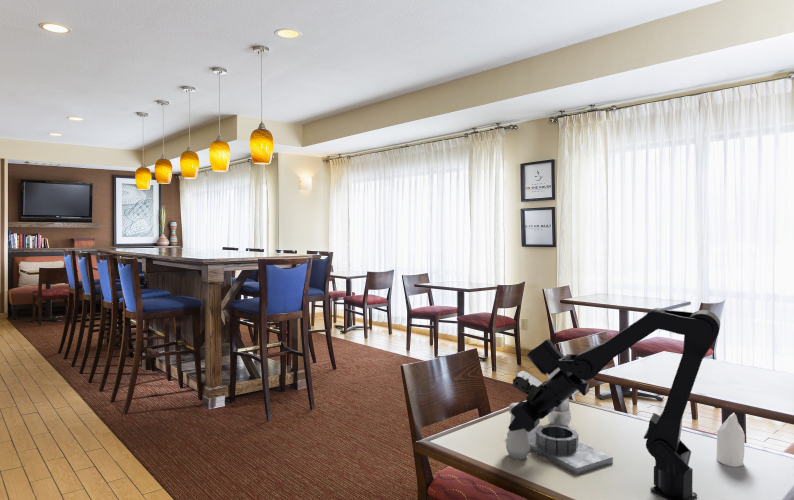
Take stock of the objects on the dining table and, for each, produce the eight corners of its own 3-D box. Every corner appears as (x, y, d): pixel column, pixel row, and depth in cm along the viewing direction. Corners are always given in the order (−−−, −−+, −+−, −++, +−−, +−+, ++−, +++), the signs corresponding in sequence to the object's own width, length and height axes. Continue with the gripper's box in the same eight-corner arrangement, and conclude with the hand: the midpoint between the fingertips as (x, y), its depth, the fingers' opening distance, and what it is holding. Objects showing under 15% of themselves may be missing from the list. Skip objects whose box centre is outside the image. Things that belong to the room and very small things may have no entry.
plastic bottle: (547, 428, 144) (547, 358, 144) (547, 420, 151) (547, 352, 150) (571, 430, 143) (571, 359, 142) (570, 422, 149) (570, 353, 148)
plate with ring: (612, 463, 122) (612, 444, 122) (576, 474, 117) (576, 455, 117) (540, 429, 143) (540, 414, 143) (507, 438, 138) (507, 421, 138)
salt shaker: (530, 462, 123) (530, 408, 123) (506, 460, 124) (505, 407, 124) (529, 452, 129) (529, 400, 129) (506, 450, 130) (505, 399, 130)
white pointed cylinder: (716, 406, 126) (744, 410, 123) (716, 454, 126) (743, 459, 124) (717, 413, 121) (745, 417, 118) (716, 463, 121) (745, 469, 118)
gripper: (545, 354, 132) (505, 390, 138) (519, 371, 116) (475, 410, 123) (577, 390, 127) (533, 425, 134) (554, 412, 112) (506, 450, 118)
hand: (512, 426), depth 127 cm, fingers closed on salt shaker, 3 cm apart
